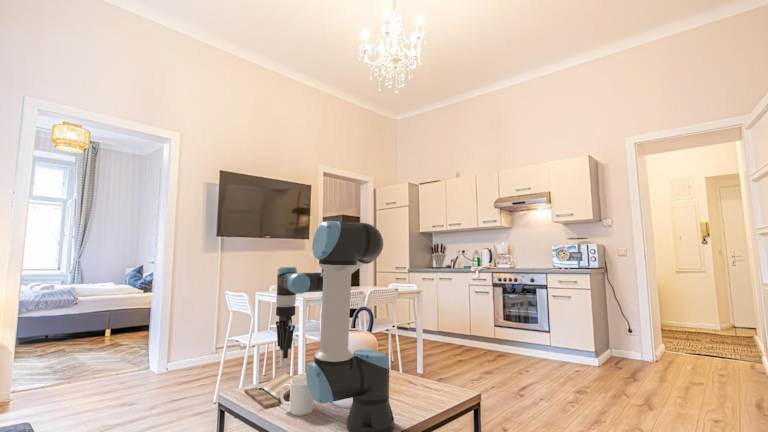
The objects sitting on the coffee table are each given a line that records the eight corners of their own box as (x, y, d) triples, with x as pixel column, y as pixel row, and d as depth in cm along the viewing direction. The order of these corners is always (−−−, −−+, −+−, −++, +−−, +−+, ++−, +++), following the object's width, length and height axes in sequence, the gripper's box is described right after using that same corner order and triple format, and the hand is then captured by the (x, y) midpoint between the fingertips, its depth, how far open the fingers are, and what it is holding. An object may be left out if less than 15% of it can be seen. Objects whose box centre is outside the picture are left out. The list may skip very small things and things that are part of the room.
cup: (310, 416, 133) (311, 385, 134) (275, 415, 134) (276, 384, 135) (316, 407, 141) (316, 377, 142) (283, 405, 142) (284, 376, 143)
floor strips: (278, 404, 143) (278, 401, 143) (264, 408, 140) (264, 404, 140) (258, 389, 158) (258, 386, 159) (244, 392, 155) (244, 389, 155)
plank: (300, 383, 151) (299, 380, 151) (279, 401, 145) (277, 398, 145) (283, 373, 163) (281, 370, 163) (262, 390, 158) (260, 387, 157)
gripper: (301, 306, 155) (299, 368, 153) (287, 303, 165) (285, 361, 163) (284, 308, 151) (281, 371, 148) (270, 304, 161) (268, 364, 158)
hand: (283, 366), depth 156 cm, fingers closed
